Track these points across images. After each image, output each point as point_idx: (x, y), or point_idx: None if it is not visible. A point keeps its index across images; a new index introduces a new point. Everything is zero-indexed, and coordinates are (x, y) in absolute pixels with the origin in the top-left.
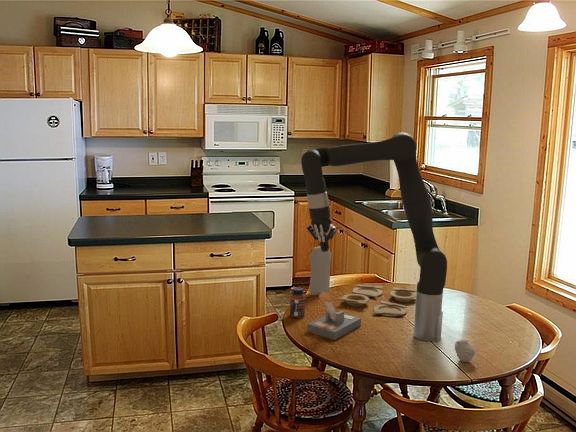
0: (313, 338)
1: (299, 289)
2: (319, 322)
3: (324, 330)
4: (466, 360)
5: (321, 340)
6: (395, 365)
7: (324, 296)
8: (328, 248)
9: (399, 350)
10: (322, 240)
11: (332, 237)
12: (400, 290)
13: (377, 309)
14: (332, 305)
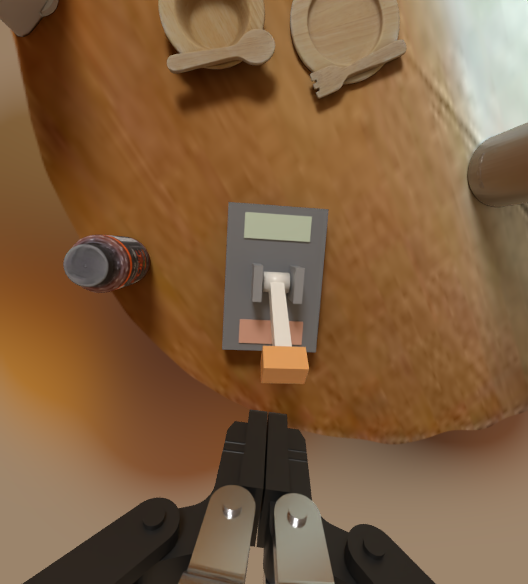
0: None
1: (96, 271)
2: (246, 323)
3: None
4: None
5: None
6: (481, 376)
7: (285, 380)
8: (301, 444)
9: (465, 299)
10: (267, 578)
11: (405, 562)
12: None
13: (311, 49)
14: (287, 319)
